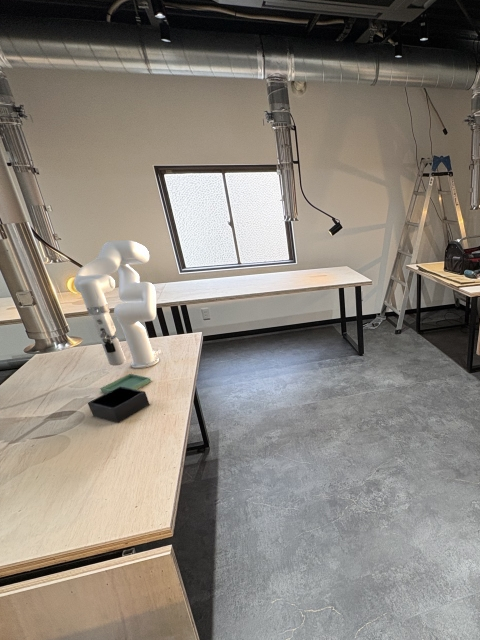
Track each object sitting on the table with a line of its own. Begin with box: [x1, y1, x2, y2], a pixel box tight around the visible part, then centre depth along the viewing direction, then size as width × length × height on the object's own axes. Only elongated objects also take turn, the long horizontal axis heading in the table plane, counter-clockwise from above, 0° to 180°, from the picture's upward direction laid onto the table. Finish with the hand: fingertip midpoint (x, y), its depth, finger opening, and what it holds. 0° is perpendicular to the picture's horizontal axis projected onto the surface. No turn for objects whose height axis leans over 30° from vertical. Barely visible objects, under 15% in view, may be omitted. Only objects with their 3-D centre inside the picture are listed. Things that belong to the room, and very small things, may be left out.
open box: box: [87, 386, 151, 424], centre depth 168 cm, size 15×15×6 cm
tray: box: [99, 373, 152, 394], centre depth 188 cm, size 15×13×2 cm
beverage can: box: [101, 335, 127, 366], centre depth 180 cm, size 6×6×12 cm
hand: (112, 348), depth 179 cm, fingers closed on beverage can, 6 cm apart
